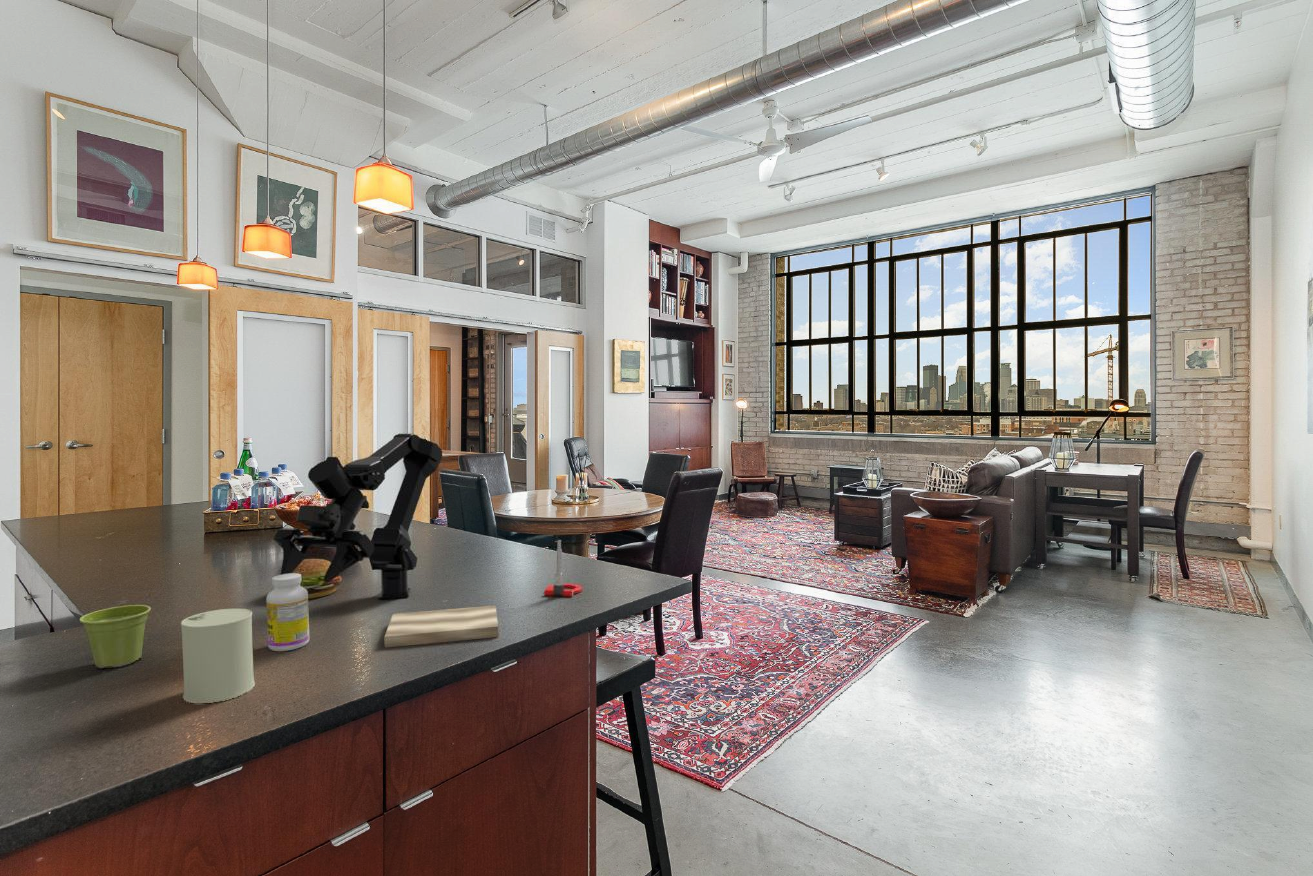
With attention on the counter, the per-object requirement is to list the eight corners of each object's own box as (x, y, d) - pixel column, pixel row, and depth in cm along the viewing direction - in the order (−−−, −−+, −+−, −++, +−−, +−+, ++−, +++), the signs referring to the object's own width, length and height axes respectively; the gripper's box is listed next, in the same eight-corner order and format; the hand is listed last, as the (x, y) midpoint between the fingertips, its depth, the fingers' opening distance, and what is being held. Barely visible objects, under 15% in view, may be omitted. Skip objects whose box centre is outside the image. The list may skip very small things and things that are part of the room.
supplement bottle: (270, 642, 124) (268, 573, 123) (310, 637, 126) (308, 570, 126) (265, 654, 117) (263, 582, 117) (307, 649, 120) (305, 578, 119)
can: (205, 680, 106) (203, 606, 106) (266, 678, 107) (264, 604, 107) (168, 706, 97) (165, 624, 97) (235, 703, 98) (232, 622, 97)
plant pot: (95, 678, 107) (92, 625, 107) (72, 666, 112) (70, 615, 112) (162, 659, 115) (160, 610, 115) (138, 649, 120) (136, 602, 120)
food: (310, 583, 166) (309, 551, 166) (353, 588, 161) (352, 556, 161) (259, 598, 153) (258, 564, 153) (305, 604, 148) (304, 569, 148)
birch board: (393, 623, 134) (393, 613, 134) (495, 614, 139) (495, 605, 139) (384, 647, 121) (384, 636, 120) (498, 636, 126) (498, 626, 126)
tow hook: (552, 587, 162) (540, 596, 153) (552, 534, 162) (540, 540, 153) (586, 589, 161) (575, 598, 152) (586, 535, 161) (576, 541, 152)
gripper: (279, 487, 132) (235, 555, 121) (364, 489, 128) (326, 558, 118) (308, 521, 140) (269, 586, 129) (388, 523, 136) (355, 591, 126)
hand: (303, 580), depth 125 cm, fingers open, 9 cm apart
